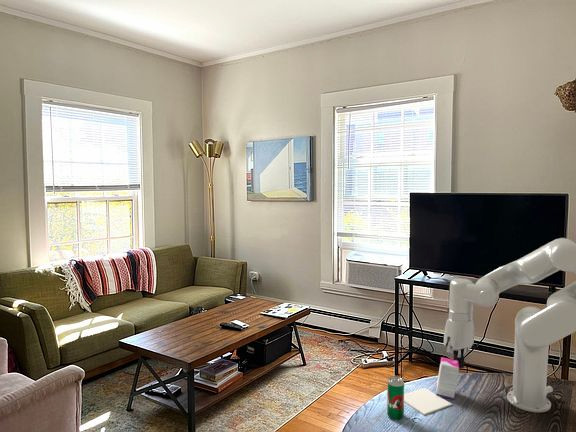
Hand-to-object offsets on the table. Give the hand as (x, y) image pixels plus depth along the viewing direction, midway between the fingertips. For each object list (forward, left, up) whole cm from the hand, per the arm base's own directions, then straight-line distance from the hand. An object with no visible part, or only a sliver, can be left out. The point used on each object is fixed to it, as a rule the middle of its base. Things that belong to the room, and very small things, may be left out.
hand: (458, 366), depth 153 cm
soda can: (+30, +2, -9) cm, 31 cm away
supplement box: (+6, 0, -8) cm, 10 cm away
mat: (+16, 0, -8) cm, 18 cm away
